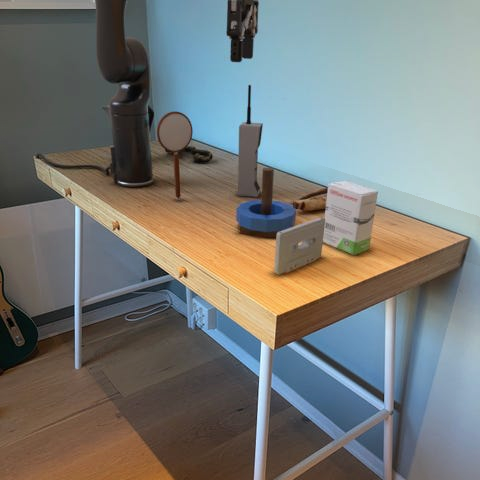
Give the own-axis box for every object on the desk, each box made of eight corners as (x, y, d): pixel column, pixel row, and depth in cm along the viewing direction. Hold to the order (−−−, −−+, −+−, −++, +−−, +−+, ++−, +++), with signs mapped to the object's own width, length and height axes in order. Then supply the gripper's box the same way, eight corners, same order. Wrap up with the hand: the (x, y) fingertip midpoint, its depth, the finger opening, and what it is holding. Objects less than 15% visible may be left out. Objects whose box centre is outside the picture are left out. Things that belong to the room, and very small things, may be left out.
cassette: (279, 276, 85) (282, 235, 81) (271, 272, 86) (274, 231, 82) (323, 257, 92) (328, 218, 88) (315, 254, 93) (320, 215, 89)
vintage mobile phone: (257, 197, 121) (261, 86, 108) (237, 196, 122) (239, 85, 109) (260, 193, 125) (264, 84, 111) (240, 191, 125) (242, 83, 112)
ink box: (369, 249, 96) (380, 190, 90) (353, 256, 93) (362, 195, 87) (336, 236, 101) (344, 179, 95) (320, 241, 99) (326, 183, 93)
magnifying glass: (163, 204, 116) (157, 113, 105) (160, 202, 117) (154, 112, 106) (195, 198, 120) (193, 110, 109) (192, 196, 121) (189, 109, 110)
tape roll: (229, 227, 100) (230, 215, 99) (246, 208, 110) (246, 197, 109) (287, 234, 98) (288, 222, 96) (298, 214, 107) (299, 203, 106)
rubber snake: (215, 145, 146) (184, 151, 142) (216, 161, 148) (186, 167, 144) (189, 135, 159) (160, 141, 155) (191, 150, 162) (163, 156, 158)
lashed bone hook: (334, 196, 125) (276, 206, 116) (336, 178, 122) (278, 186, 114) (360, 206, 118) (301, 217, 109) (363, 186, 116) (303, 196, 107)
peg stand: (239, 233, 102) (240, 172, 95) (250, 218, 109) (251, 161, 102) (282, 238, 100) (286, 177, 93) (290, 223, 107) (294, 165, 100)
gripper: (236, -36, 98) (234, 56, 107) (214, -42, 87) (213, 61, 95) (273, -35, 97) (267, 58, 105) (255, -41, 85) (250, 64, 94)
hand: (241, 60), depth 100 cm, fingers open, 8 cm apart
